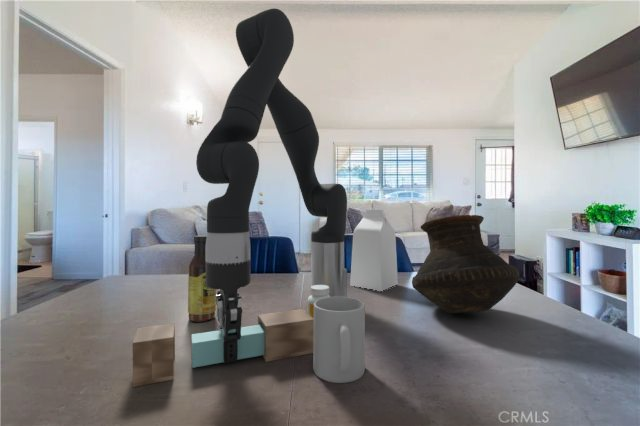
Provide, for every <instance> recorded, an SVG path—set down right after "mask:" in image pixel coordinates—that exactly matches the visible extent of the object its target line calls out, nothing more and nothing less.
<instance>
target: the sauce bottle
mask: <svg viewBox="0 0 640 426" xmlns="http://www.w3.org/2000/svg"><path fill="white" fill-rule="evenodd" d="M206 239H207V235H194V236H193V243H194V256H193V257H192V259H191V261H190V263H189V265H188V282H187V283H188V286H187V289H188V291H187V292H188V294H187V306H188V307H187V313H188V320H189V321H191V322H193V323H195V322H196V323H200V322H206V321H210V320H212V319H214V317H215V314H216V311H217V305H216V295H217V289H211V288H209V287H207V286H206V251H205V248H206Z"/></svg>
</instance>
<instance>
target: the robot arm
mask: <svg viewBox="0 0 640 426" xmlns="http://www.w3.org/2000/svg"><path fill="white" fill-rule="evenodd" d="M294 36H295V35H294V30H293V26H292V23H291V21H290V19H289V18H288V16H287V15H286V14H285V12H284V11H282V10H281V9H279V8H268V9H266V10H263V11H261V12H258V13H255V14H253V15H251V16H249V17H247V18H244V19H241V21H239V22H238V23H237V25H236V27H235V38H236V42H237V43H236V44H237V46H238V49H239V50H240V53H241V56H242V58H243V60H244V62H245V64H246V66H247V69H246V70H245V71H244V72H243V73H242V75H240V77H239V78H238V80H236V82H235V83H234V85H233V87H232V88H231V90H230V92H229V93H228V96H227V99H226V102H225V105H224V108H223V110H222V113H221V117H220V119H219V120H218V121H217V123H216V124H215V125H214V126H213V127H212V129H211V130H210V132H209V133H208V134H207V136H206V137H205V138H204V140H203V141H202V142H201V144H200V146H199V149H198V151H197V155H196V171H197V173H198V176H200V178H201V179H202V180H203V181H204V182H206V183H208V184H213V185H221V184H222V185H223V184H228V185H227V189H226V191H225V193H224V194H223V195H221V196H218V197H214V198H212V199H210V200H209V201H208V203H207V206H206V207H207V208H206V236H207V239H206V248H205V251H206V286H207V287H209V288H211V289H216V290H217V291H216V315H217V322H218V323H219V324H218V328H219V330H223V336H222V339H223V350H224V362H223V363H225V364H230V363H235V362H237V361H238V360H237V358H238V354H237V340H240V337H241V327H242V319H243V318H242V317H243V309H242V305H243V302H242V300H243V299H242V296H240V293H239V291H238V290H239V289H240V288H245V287H246V286H248V285H249V284H251V239H250V223H249V221H250V205H251V202H252V198H253V194H254V191H255V190H254V189H255V186H256V183H257V179H258V174H259V171H260V160H259V156H258V152H257V151H256V149H255V148H254V146H253V145H252V144H250V142H253V141H254V140H255V139H256V138H257V136H258V134H259V131H260V128H261V124H262V120H263V117H264V114H265V110H266V106H267V108H268V110H269V113H270V116H271V118H272V120H273V122H274V124H275V125H274V126H275V127H276V131H277V133H278V135H279V138H280V140H281V143H282V144H283V145H282V146H283V147H284V149H285V152H286V153H287V156H288V158H289V162H290V163H291V166H292V169H293V172H294V175H295V176H296V180H297V183H298V186H299V187H298V188H299V190H300V193H301V197H302V199H303V202H304V206H305V208H306V210H307V212H308V213H309V215H311V216H314V217H317V218H318V217H319V218H320V217H321V218H326V221H325V224H324V225H323V226H321V227H320V228H317V229H314V230H312V231H311V233H310V234H311V235H310V240H311V242H310V248H311V249H310V258H311V259H310V264H311V265H310V267H311V268H310V271H311V272H310V287H311V286H314V285H326V286H329V294H328V295H329V296H330V297H348V270H347V268H345V233H346V230H347V212H348V211H347V210H348V195H347V191H346V188H345V187H344V186H343V184H341V183H320V182H319V180H318V177H317V175H316V172H315V171H316V170H315V165H316V164H315V162H316V159H317V154H318V151H319V145H320V136H319V132H318V129H317V125H316V124H315V121H314V117H313V115H312V113H311V110H310V109H309V108H308V107H307V106H306V104H305V103H303V101H302V100H300V99H299V98H298V97H297V96H296V95H294V93H292V92H291V91H290V90H289V89H288V88H287V87H286V86H285V85H284V84H283V82H282V81H281V80H280V78H279V77H280V75H281V74H282V71H283V69H284V67H285V65H286V64H287V62H288V59H290V58H289V57H290V55H291V53H292V50H293V47H294V44H295V38H294ZM311 295H312V294H311V293H310V296H311ZM233 329H235V332H232V333H228V331H229V330H233Z"/></svg>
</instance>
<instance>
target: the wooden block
mask: <svg viewBox="0 0 640 426" xmlns="http://www.w3.org/2000/svg"><path fill="white" fill-rule="evenodd" d="M260 324H262V325H263V326H264V328H265V355H262V357H263V359H264V362H265V363H267V362H272V361H278V360H284V359H288V358H294V357H298V356H304V355H308V354H309V355H310V354H313V352H314V319H313V318H312V317H311V316H310V315H309V314H308V313H307V311H305V310H304V309H303V308H299V309H292V310H285V311H277V312H268V313H262V314H258V315H257V325H260Z"/></svg>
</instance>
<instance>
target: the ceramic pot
mask: <svg viewBox="0 0 640 426" xmlns="http://www.w3.org/2000/svg"><path fill="white" fill-rule="evenodd" d="M484 219H485V217H484V216H482V215H479V214H478V215H477V214H473V215H472V214H471V215H470V214H462V215H461V214H459V215H450V216H445V217H443V216H442V217H438V218H434V219H431V220H429V221H426V222H424V223H423V224H421V226H420V229H421V231H424V232H425V233H426V235H427V239H428V245H429V253H428V254H427V256H426V257H425V259H424V262H423V264H421V265H420V266H419V269H418V270H417V273H416V274H415V275H414V276H413V277H412V280H411V283H412V284H411V285H412V289H415V291H416V292H417V293H419V294H420V295H421V296H422V297H424V298H425V299H427V300H428V301H429V302H431V303H432V304H433V305H436V306H437V307H439V308H440V309H442V310H443V311H445V312H446V313H448V314H460V313H475V312H477V313H478V312H485V311H490V310H491V309H492V308H493V307H494V306H496V305H497V304H498V303H499V302H501V301H502V300H503V299H504V298H505V297H506V296H507V294H509V293H510V291H511V290H512V289H513V288H514V287H515V286H516V285H517V283H518V282H519V280H520V279H521V278H520V271H519V270H518V268H516V267H515V266H514V265H511V264H509V263H508V262H506V260H505V259H504V258H502V256H500V255H499V254H497V253H495V252H494V251H493V250H492V249H491V248H489V247H488V246H487V245H485V244H484V241H483V237H482V233H481V232H482V231H481V224H482V222H483V221H484Z"/></svg>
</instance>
